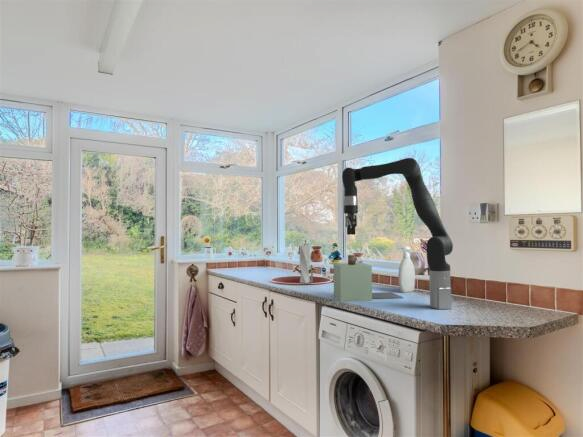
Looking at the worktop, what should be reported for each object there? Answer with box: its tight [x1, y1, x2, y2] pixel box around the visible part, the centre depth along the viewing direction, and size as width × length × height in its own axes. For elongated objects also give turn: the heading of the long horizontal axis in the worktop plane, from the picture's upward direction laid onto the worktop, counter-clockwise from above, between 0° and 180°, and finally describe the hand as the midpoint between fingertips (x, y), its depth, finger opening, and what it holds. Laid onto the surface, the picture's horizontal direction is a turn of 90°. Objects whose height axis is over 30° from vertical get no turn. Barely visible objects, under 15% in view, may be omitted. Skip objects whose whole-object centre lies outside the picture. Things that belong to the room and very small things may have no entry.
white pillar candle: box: [299, 242, 314, 285], centre depth 269 cm, size 8×8×28 cm
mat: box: [372, 291, 404, 300], centre depth 213 cm, size 17×17×1 cm
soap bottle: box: [397, 245, 416, 294], centre depth 227 cm, size 14×8×27 cm, turn 130°
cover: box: [333, 254, 373, 302], centre depth 207 cm, size 17×17×23 cm
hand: (351, 234), depth 208 cm, fingers open, 8 cm apart
